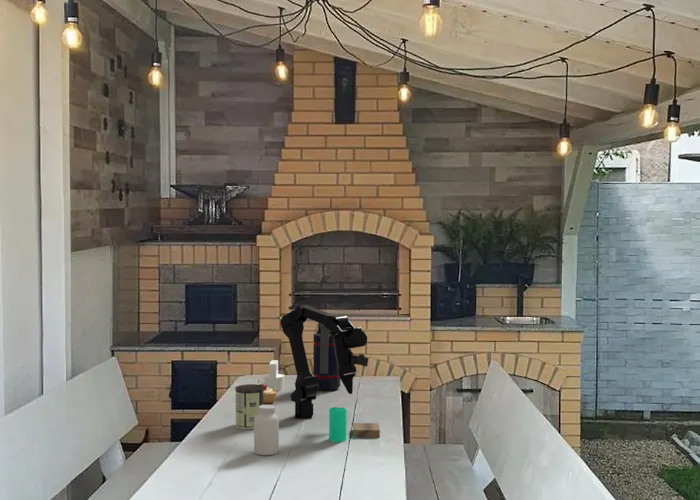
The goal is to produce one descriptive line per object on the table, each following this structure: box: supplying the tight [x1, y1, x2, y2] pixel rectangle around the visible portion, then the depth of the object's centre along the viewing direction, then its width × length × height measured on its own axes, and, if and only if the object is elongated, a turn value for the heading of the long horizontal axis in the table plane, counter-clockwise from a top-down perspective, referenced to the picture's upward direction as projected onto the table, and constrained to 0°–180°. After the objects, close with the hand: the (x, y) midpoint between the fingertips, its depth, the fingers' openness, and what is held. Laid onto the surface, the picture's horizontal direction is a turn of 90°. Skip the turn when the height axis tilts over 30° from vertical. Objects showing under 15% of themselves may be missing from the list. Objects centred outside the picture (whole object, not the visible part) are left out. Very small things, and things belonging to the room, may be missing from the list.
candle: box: [328, 406, 347, 443], centre depth 274 cm, size 6×6×12 cm
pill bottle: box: [253, 404, 280, 456], centre depth 258 cm, size 8×8×15 cm
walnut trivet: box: [352, 422, 381, 438], centre depth 281 cm, size 9×9×2 cm
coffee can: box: [234, 383, 264, 430], centre depth 290 cm, size 10×10×14 cm
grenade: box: [312, 322, 341, 392], centre depth 350 cm, size 14×12×30 cm
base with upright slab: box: [262, 359, 285, 392], centre depth 349 cm, size 9×9×12 cm
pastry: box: [257, 379, 277, 405], centre depth 325 cm, size 12×12×9 cm
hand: (350, 393), depth 286 cm, fingers open, 9 cm apart
